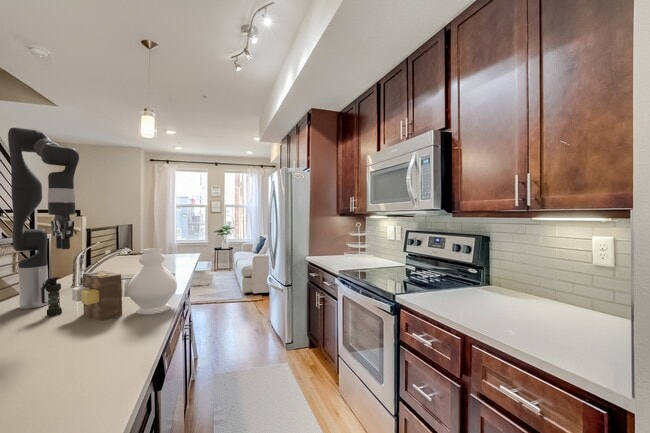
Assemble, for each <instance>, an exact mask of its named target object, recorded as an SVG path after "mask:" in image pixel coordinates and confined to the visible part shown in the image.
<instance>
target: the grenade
mask: <svg viewBox="0 0 650 433" xmlns="http://www.w3.org/2000/svg"><path fill="white" fill-rule="evenodd" d="M58 279H62V278H61V277H58V276H55V277H54V276H53V277H50V278H49V277H48V279H47V280H46V281H44V282H45V284H44V283H43V286H42V288H41V301H42V303H48V304H47V305H48V309H46V316H48V317H54V316H55V317H56V316H59V315H61V314H63V309H62V307H61V304H60V303H61V302H60V301H61V300H60V299H61V298H60V290H62V284H61V283H60V282H59V283H57V282H58ZM45 289H46V291H48V302H45V291H44V290H45Z"/></svg>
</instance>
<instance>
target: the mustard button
mask: <svg viewBox="0 0 650 433" xmlns="http://www.w3.org/2000/svg"><path fill="white" fill-rule="evenodd" d="M81 296H82V301H81V304H83V305H84V304H86V305H89V304H93V303H98V302H100V291H99V290H96V289H90V290H85V291H81Z"/></svg>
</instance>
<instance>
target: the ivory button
mask: <svg viewBox="0 0 650 433" xmlns="http://www.w3.org/2000/svg"><path fill="white" fill-rule="evenodd" d="M85 290H90V288H89V287H85V286H84V287H83V286H80V287H73V288H71V294H72V295H71V296H72V299H71V300H72V301H74V302H77V303H78V302H82V296H81V291H85Z"/></svg>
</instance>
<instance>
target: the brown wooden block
mask: <svg viewBox="0 0 650 433" xmlns="http://www.w3.org/2000/svg"><path fill="white" fill-rule="evenodd" d="M84 286H85V287H89V288H90V289H96V290H99V291H100V302H98V303H93V304H89V305H86V304H83V315H85V316H88V317H90V318H93V319H95V320H99V321H101V322H104V321H106V320H110V319H113V317H114V318H117V317H120V316H123V299H122V298H123V296H122V294H123V291H122V274H121V273H115V272H110V271H105V270H100V271H92V272H86V273H82V287H84ZM116 316H117V317H116Z"/></svg>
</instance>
